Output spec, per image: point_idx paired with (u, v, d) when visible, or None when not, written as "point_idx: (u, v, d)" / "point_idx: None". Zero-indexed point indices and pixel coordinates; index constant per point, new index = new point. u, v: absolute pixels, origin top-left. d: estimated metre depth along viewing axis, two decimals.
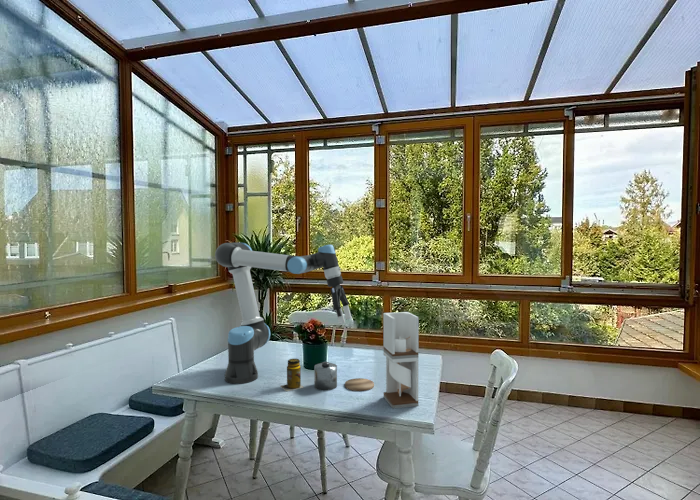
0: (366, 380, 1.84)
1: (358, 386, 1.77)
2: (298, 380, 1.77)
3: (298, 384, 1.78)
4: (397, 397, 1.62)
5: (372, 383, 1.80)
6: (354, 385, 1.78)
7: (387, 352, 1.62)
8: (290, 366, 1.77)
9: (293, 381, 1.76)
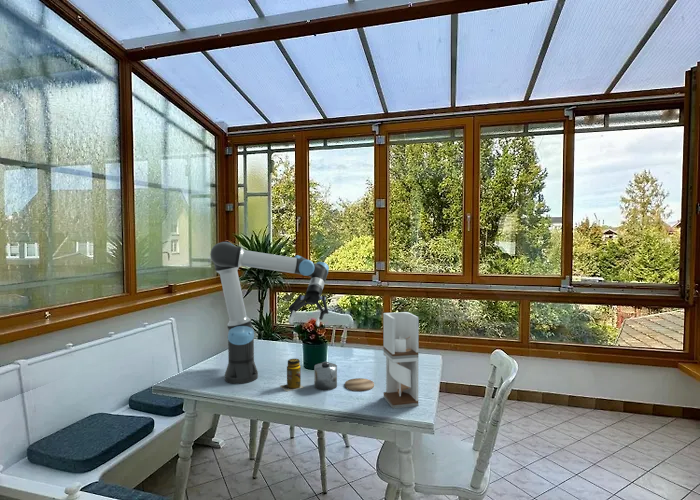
0: (366, 380, 1.84)
1: (358, 386, 1.77)
2: (298, 380, 1.77)
3: (298, 384, 1.78)
4: (397, 397, 1.62)
5: (372, 383, 1.80)
6: (354, 385, 1.78)
7: (387, 352, 1.62)
8: (290, 366, 1.77)
9: (293, 381, 1.76)
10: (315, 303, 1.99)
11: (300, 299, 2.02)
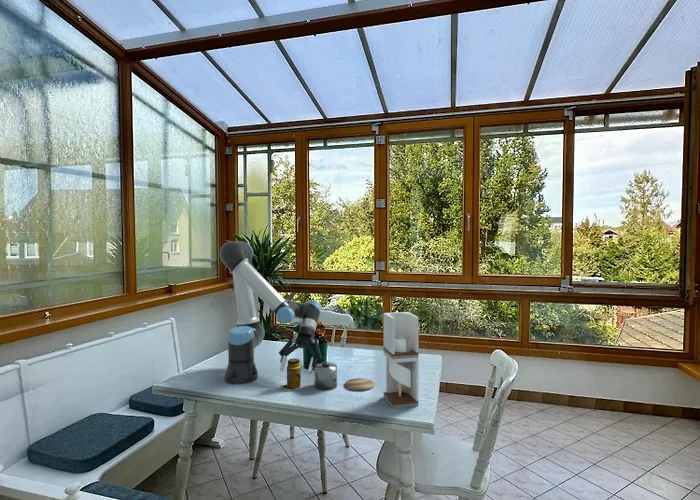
0: (366, 380, 1.84)
1: (358, 386, 1.77)
2: (298, 380, 1.77)
3: (298, 384, 1.78)
4: (397, 397, 1.62)
5: (372, 383, 1.80)
6: (354, 385, 1.78)
7: (387, 352, 1.62)
8: (290, 366, 1.77)
9: (293, 381, 1.76)
10: None
11: (291, 342, 1.91)
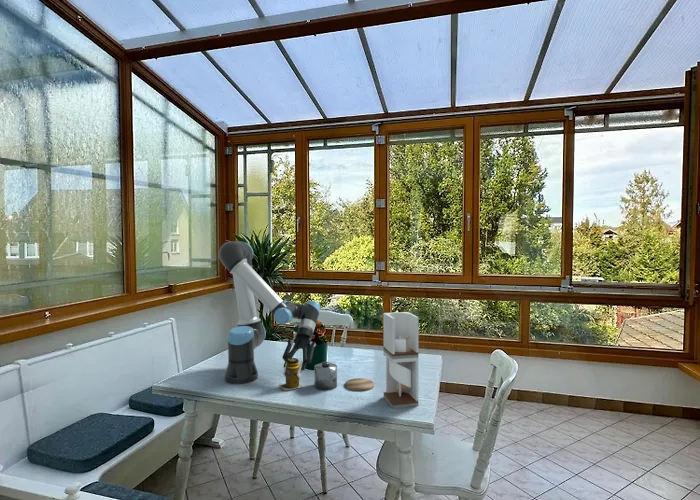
0: (366, 380, 1.84)
1: (358, 386, 1.77)
2: (297, 379, 1.77)
3: (297, 383, 1.77)
4: (397, 397, 1.62)
5: (372, 383, 1.80)
6: (354, 385, 1.78)
7: (387, 352, 1.62)
8: (289, 365, 1.77)
9: (292, 380, 1.76)
10: None
11: (290, 344, 1.89)
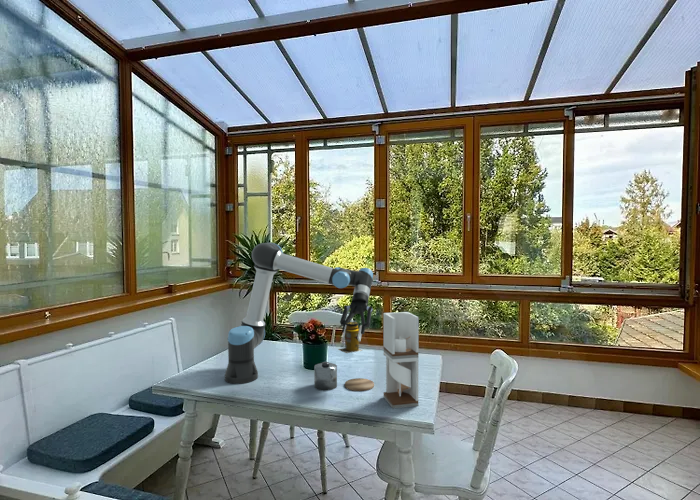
0: (366, 380, 1.84)
1: (358, 386, 1.77)
2: (357, 343, 1.76)
3: (357, 347, 1.76)
4: (397, 397, 1.62)
5: (372, 383, 1.80)
6: (354, 385, 1.78)
7: (387, 352, 1.62)
8: (349, 328, 1.75)
9: (352, 343, 1.74)
10: None
11: (347, 310, 1.87)
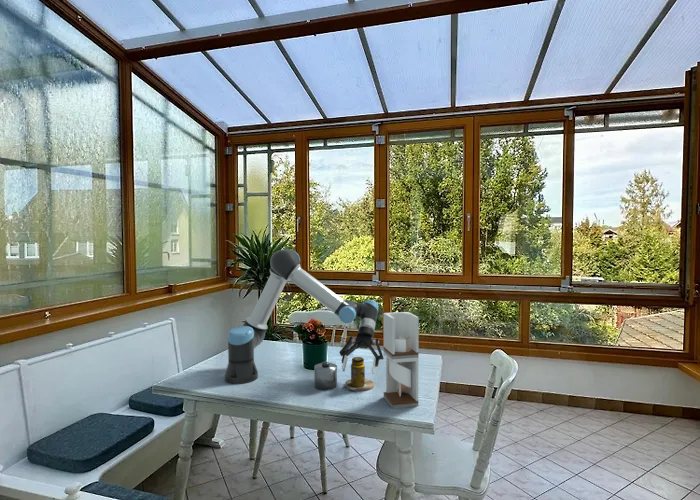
0: (366, 380, 1.84)
1: None
2: (363, 379, 1.76)
3: (363, 383, 1.76)
4: (397, 397, 1.62)
5: (372, 383, 1.80)
6: None
7: (387, 352, 1.62)
8: (355, 364, 1.75)
9: (358, 379, 1.75)
10: (368, 347, 1.86)
11: (351, 342, 1.89)
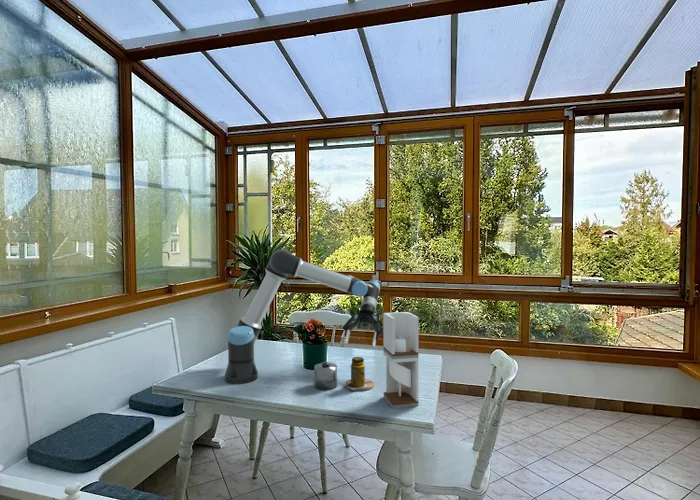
0: (366, 380, 1.84)
1: None
2: (363, 378, 1.76)
3: (363, 383, 1.76)
4: (397, 397, 1.62)
5: (372, 383, 1.80)
6: None
7: (387, 352, 1.62)
8: (355, 364, 1.75)
9: (358, 379, 1.75)
10: None
11: (354, 318, 2.02)
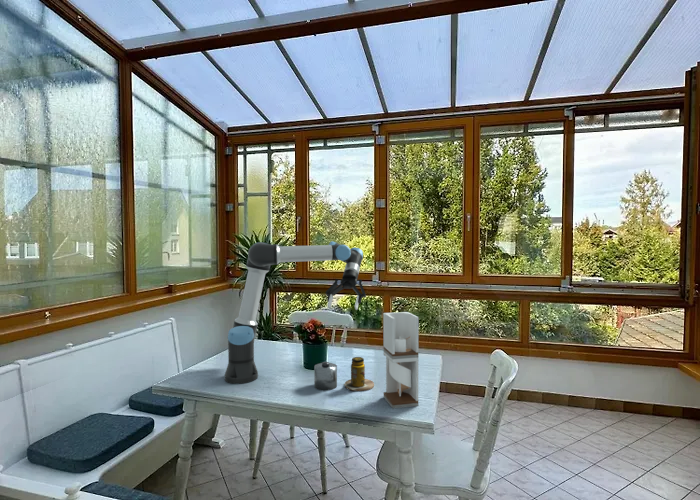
0: (366, 380, 1.84)
1: None
2: (363, 379, 1.76)
3: (363, 383, 1.76)
4: (397, 397, 1.62)
5: (372, 383, 1.80)
6: None
7: (387, 352, 1.62)
8: (355, 364, 1.75)
9: (358, 379, 1.75)
10: (352, 287, 2.00)
11: (336, 284, 2.03)
